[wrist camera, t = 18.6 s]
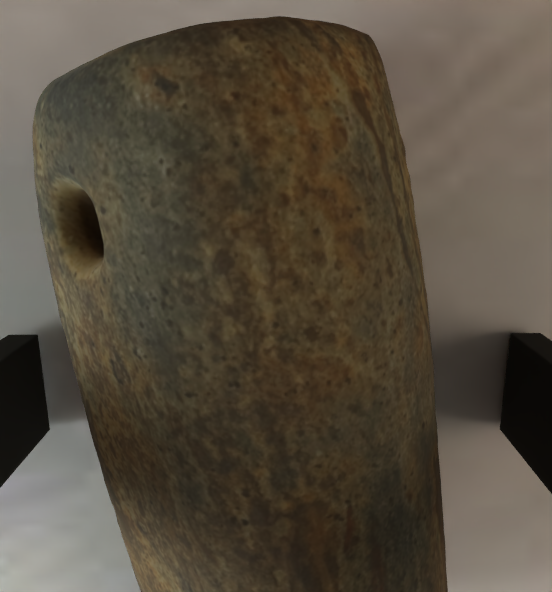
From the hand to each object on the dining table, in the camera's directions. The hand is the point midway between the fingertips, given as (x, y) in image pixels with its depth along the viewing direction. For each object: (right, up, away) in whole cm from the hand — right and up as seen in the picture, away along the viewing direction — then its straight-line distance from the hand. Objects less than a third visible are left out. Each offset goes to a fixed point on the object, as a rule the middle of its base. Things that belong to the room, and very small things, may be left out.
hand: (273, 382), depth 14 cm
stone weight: (0, 0, 0) cm, 0 cm away
